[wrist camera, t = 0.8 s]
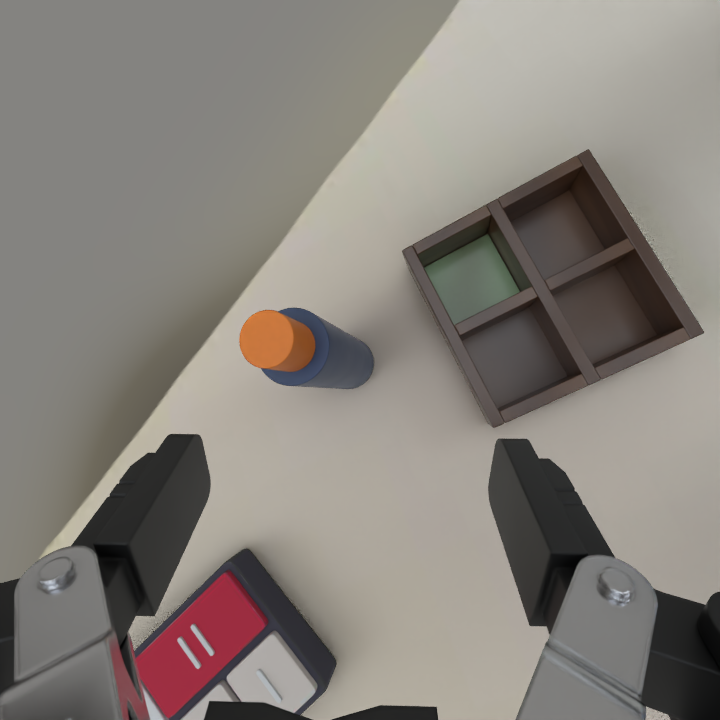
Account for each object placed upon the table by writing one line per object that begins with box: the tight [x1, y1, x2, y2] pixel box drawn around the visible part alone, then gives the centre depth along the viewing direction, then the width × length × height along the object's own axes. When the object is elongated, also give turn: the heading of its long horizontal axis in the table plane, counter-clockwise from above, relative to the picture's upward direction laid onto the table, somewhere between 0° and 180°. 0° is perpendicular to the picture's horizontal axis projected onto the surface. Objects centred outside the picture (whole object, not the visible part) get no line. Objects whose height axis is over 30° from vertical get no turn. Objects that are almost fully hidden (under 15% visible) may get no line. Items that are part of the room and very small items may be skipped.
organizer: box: [402, 149, 704, 428], centre depth 29 cm, size 13×13×4 cm
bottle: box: [239, 308, 374, 389], centre depth 26 cm, size 4×4×15 cm
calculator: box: [134, 549, 336, 720], centre depth 32 cm, size 11×4×15 cm
